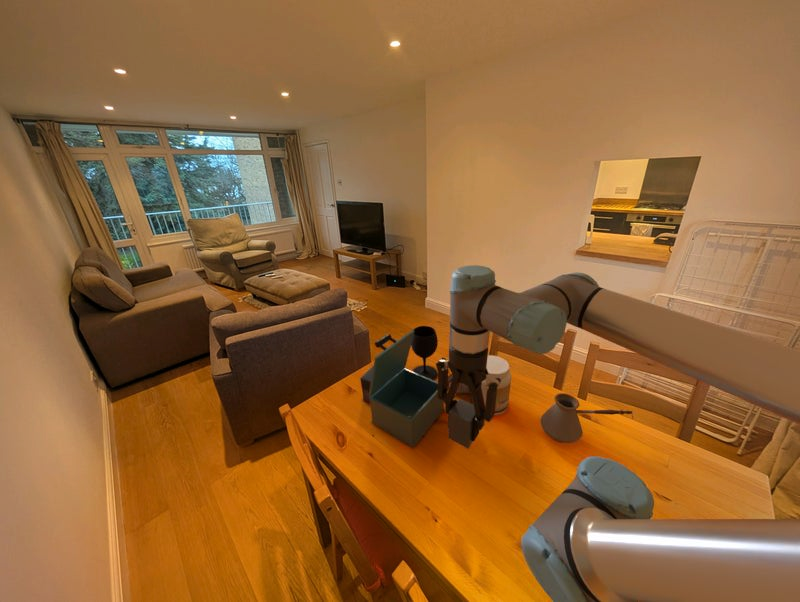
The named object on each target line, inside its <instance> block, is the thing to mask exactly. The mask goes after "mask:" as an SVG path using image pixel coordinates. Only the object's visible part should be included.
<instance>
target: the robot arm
mask: <svg viewBox="0 0 800 602" xmlns="http://www.w3.org/2000/svg"><path fill="white" fill-rule="evenodd" d="M496 283H497V280H496V273H495V271H494V269H493V270H492V269H491V268H490V267H487V266H484V265H479V264H478V265H477V264H475V265H474V264H471V265H463V266H460V267H457V268H455V270H453V271H452V273H451V281H450V290H449V294H450V301H449V302H450V303H449V304H450V307H449V314H450V315H449V334H448V335H449V336H448V343H449V344H448V359H446V357H444V356H443V357H441V358H440V359H439V360H438V361H437V362H436V363H435V367H436V371H437V382H438V398H439V399H440V400H444V412H445V414H446V415H447V429H449V412H450V410H451V409H452V408H453V407H454V405H455V404H456V403H457V401H458V400H457V399H455V398H456V395H457V393H456V392H457V390H458V387H459V385H460V383H462V384H465V385H467V386H468V387H469V392H471V394H470V395H471V401H472V400H473V401H472V405H474V409H475V415H474V417H473V418H472V419H473V421H472V434H471V440H472V441H473V442H475V441H476V439H477V437H478V436H479V434H480V431H482V429H483V428H484V427H485V422H487V423H490V422H491V421H492V419H493V417H494V416H495V415H494V414H495V405H496V395H497V387H498V386H499V384H500V383H501V379H500V378H495V379H494V378H493V377H491V376H490V375H488V371H487V368H486V366H487V358H488V355H489V343H490V335H491V333H493V334H495V335H496V336H499V337H500V338H502V339H504V340H506V341H507V342H510V343H512V344H513V345H515V347H519V348H523V349H525V350H527V351H530V352H533V353H535V354H538V355H544V354H548V353H549V352H551V351H553V350H554V349H555V348H556V346H557V344H559V343H560V342H561V340H562V338H563V336H564V334H565V332H566V329H567V324H568V325H571V326H573V327H575V328H578V329H580V330H583V331H586V332H587V333H590V334H591V335H594V336H596V337H599V338H601V339H604V340H606V341H608V342H610V343H613V344H614V345H617V346H619V347H622V348H624V349H625V350H628V351H631V352H633V353H635V354H637V355H640V356H642V357H645V358H647V359H649V360H652V361H653V362H656V363H658V364H661V365H663V366H665V367H667V368H669V369H672V370H674V371H676V372H678V373H680V374H683V375H685V376H688V377H690V378H693V379H695V380H697V381H699V382H701V383H703V384H706V385H708V386H711V387H713V388H715V389H717V390H719V391H721V392H724V393H727V394H729V395H731V396H733V397H735V398H738V399H740V400H742V401H744V402H747V403H749V404H751V405H753V406H756V407H758V408H761V409H763V410H766V411H767V412H770V413H772V414H775V415H776V416H779V417H781V418H783V419H786V420H787V421H791V422H793V423H794V424H797V425H800V349H796V348H793V347H790V346H787V345H785V344H781V343H778V342H774V341H771V340H768V339H765V338H762V337H759V336H755V335H753V334H749V333H747V332H743V331H740V330H737V329H733V328H730V327H727V326H724V325H721V324H717V323H714V322H711V321H708V320H705V319H702V318H699V317H696V316H693V315H689V314H686V313H683V312H679V311H676V310H673V309H670V308H668V307H664V306H661V305H658V304H655V303H651V302H649V301H644V300H641V299H639V298H636V297H632V296H630V295H629V296H628V295H625V294H622V293H619V292H617V291H613V290H609V289H607V288H604V287H601V286H600V285H599V283H598V281H596V280H595V279H594V278H593V277H592V276H591V275H589V274H587V273H584V272H578V271H577V272H571V273H567V274H561V275H559V276H556V277H554V278H552V279H550V280H548V281H545V282H544V283H540V284H539V285H537V286H533V287H530V288H529V289H526V290H524V291H522V292H517V291H514V290H511V289H507V288H504V287H502V286H500V285H497V284H496ZM449 370H450V372H451V374H453V378H452V381H451V385H450V388H449V389H448V376H449ZM484 380H485V381H486V388H487V389H488V390H487V395H486V407H485V403H484V398H483V393H482V388H481V386H482V381H484ZM654 508H655V499H654V496H653V493H652V491H651V490H650V489H649V488H648V486H647V484H646V483H645V481H643V480H642V478H640V476H639V475H638V474H636V472H634V471H632V469H630V468H628V467H627V466H625V465H624V464H622V463H620V462H617V461H616V460H614V459H610V458H609V457H608V458H606V457H605V458H604V457H602V456H596V455H595V456H588V457H585V458H583V459H582V460H581V461H580V462H579V464H578V465H577V468H576V474H575V477H574V478H573V479H572V481H571V482H570V483H569V484H568V485H567V487H565V489H564V490H563V491H562V492H561V493H560V494H559V495H558V496H557V497H556V498H555V499H554V500H553V502H552V503H550V504H549V506H548V507H547V508H546V509H545V510H544V511H543V512H542V514H541V515H539V517H537V519H536V520H535V521H534V522H533V523H532V524H529V526H528V528H527V530H526V531H525V533H524V534H523V535H522V536H521V540H520V545H521V550H522V554H523V557H524V560H525V562H526V564H527V566H528V568H529V570H530V571H531V573H532V575H533V577H534V578H535V579H536V581H537V583H538V584H539V586H540V587H541V588H542V590H543V591H544V593H546V595H547V596H548V597H549V598H550V599H551V601H552V602H800V518H652V517H653V516H654V512H653V511H654Z"/></svg>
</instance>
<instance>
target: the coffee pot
mask: <svg viewBox="0 0 800 602" xmlns="http://www.w3.org/2000/svg"><path fill="white" fill-rule="evenodd" d="M553 398H554V404H552V406H550V407H549V408H548V409H547V410H546V411H545V412H544V413H543V414H542V415H541V417H540V419H539V420H540V421H539V422H540V423H539V424H540V426H541V428H542V430H543V432H544V433H545V434H546V436H548V437H549V438H551V439H552V440H553V441H555V442H558V443H560V444H561V443H562V444H574V443H577V442H578V441H580V440H581V439H582V437H583V433H584V432H583V427H582V425H581V421H580V418H579V415H578V414H596V415H611V416H613V415H622V416H623V415H625V414H626V415H631V418H632V420H634V415H633V410H623V409H620V410H617V409H594V410H589V409H588V410H587V409H579V407H580V401H579V400H578V398H576V397H575V396H573V395H571V394H570V393H566V392H560V393H559V392H558V393H557V394H555V395H554V397H553Z"/></svg>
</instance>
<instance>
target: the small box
mask: <svg viewBox="0 0 800 602" xmlns="http://www.w3.org/2000/svg"><path fill="white" fill-rule="evenodd" d="M373 367H374V364H373V365H372V366H370V368H369V369H367V371H366V372H365V373H364V374H363V375H361V377H360V378H359V380H360V386H361V391H362V399H363V401H364V402H366V403H369V404H370V397H369V390H370V384H371V378H372V373H373Z"/></svg>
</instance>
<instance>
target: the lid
mask: <svg viewBox="0 0 800 602" xmlns="http://www.w3.org/2000/svg"><path fill="white" fill-rule="evenodd" d="M413 335H414V329H412V330H410V331H409V332H407V333H406V334H405V335H404V336H402V337H400V338H399V339H397V340H396V339H394V337H392V335H391V333H387V334H385V335H384V336H382V337H381V338H380V339H378V340H377V341H375V342H374V346H375V347H376V348H380V349H382V351H381V352H380V353H378V354H377V355H376V356H375V357H374V361H373V365H374V367H373V373H372V378H371V384H370V390H369V397H371V396H372V395H373V394H375V393H376V392H377V391H378V390H379V389H380V388H382V387H383V386H384V385H385V384H386V383H387V382H389V381H390V380H391V379H392V378H393V377H395V376H396V375H397V374H398V373H399V372H400V371H402V370H403V369H404V368H406V366H407V362H408V358H409V354H410V350H411V348H412V347H411V343H412V339H413ZM389 341H390V342H392V344H391V345H390V346H388V347H385V346H384V345H385V344H386V343H388V342H389Z"/></svg>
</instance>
